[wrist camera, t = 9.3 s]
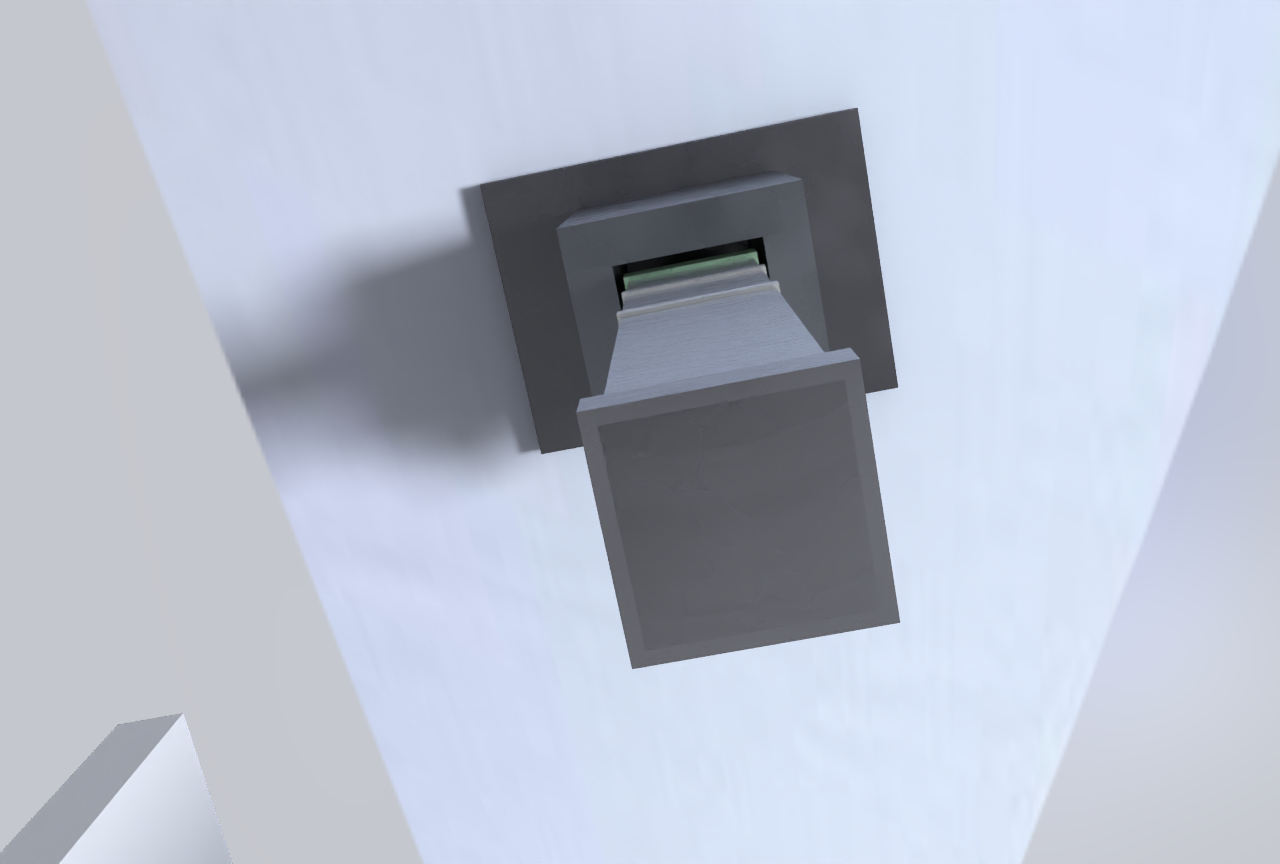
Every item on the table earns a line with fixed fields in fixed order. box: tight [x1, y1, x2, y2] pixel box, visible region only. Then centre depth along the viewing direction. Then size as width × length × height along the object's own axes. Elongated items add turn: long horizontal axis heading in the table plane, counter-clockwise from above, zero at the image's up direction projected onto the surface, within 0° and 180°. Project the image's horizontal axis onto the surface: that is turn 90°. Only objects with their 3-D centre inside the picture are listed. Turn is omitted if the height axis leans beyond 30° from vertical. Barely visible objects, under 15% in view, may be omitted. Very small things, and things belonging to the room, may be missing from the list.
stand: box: [480, 108, 898, 454], centre depth 45 cm, size 12×16×11 cm
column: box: [576, 248, 900, 669], centre depth 30 cm, size 5×5×22 cm
